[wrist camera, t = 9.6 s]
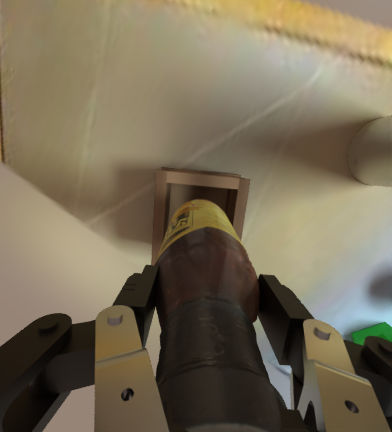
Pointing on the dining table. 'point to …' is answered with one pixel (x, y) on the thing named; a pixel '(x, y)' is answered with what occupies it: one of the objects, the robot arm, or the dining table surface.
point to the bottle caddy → (196, 189)
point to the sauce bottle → (211, 327)
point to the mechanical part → (373, 333)
